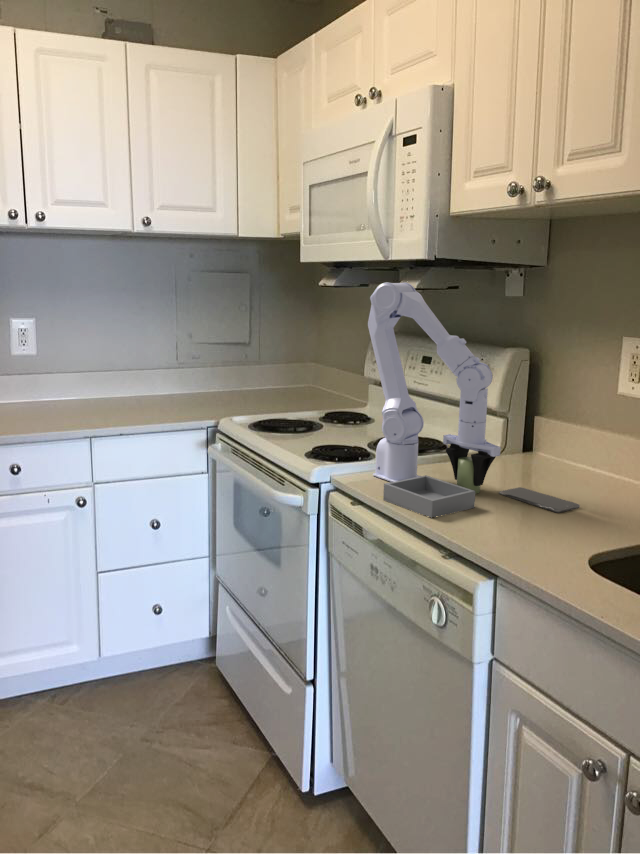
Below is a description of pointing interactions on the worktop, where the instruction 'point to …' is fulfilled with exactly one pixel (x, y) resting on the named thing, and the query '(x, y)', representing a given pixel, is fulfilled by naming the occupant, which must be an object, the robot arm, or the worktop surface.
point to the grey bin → (429, 496)
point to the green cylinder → (466, 474)
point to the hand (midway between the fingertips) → (468, 482)
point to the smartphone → (540, 500)
